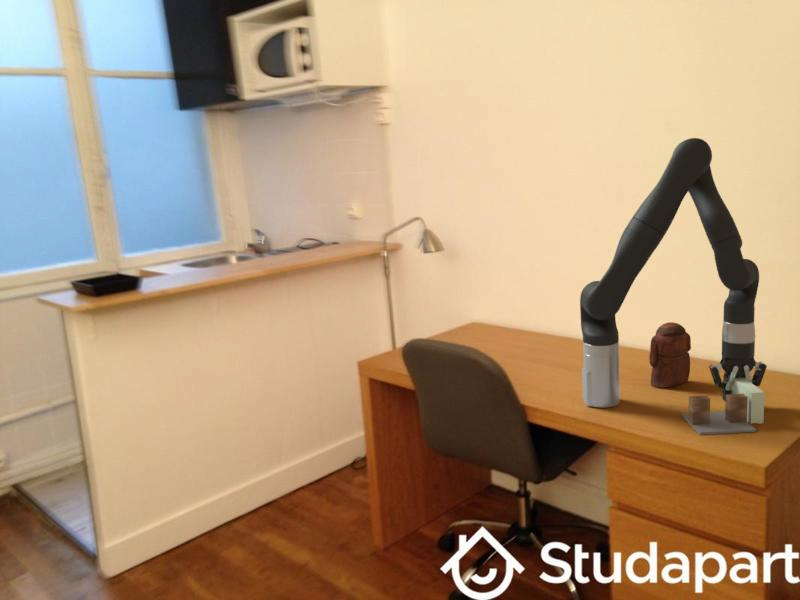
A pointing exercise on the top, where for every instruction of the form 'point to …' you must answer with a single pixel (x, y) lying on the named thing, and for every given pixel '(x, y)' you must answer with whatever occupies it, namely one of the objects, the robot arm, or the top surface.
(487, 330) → the top surface
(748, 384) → the pale green upright slab
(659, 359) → the wooden figurine
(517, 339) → the top surface
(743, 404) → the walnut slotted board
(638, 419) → the top surface
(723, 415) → the charcoal base board
